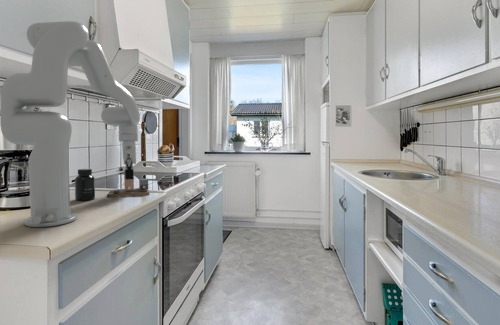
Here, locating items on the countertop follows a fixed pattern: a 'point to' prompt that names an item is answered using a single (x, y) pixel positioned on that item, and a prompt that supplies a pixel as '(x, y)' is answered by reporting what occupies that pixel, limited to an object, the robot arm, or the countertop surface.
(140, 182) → the gauge board
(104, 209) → the countertop surface
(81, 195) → the supplement bottle
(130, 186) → the sliding leg
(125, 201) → the countertop surface
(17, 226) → the countertop surface
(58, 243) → the countertop surface
